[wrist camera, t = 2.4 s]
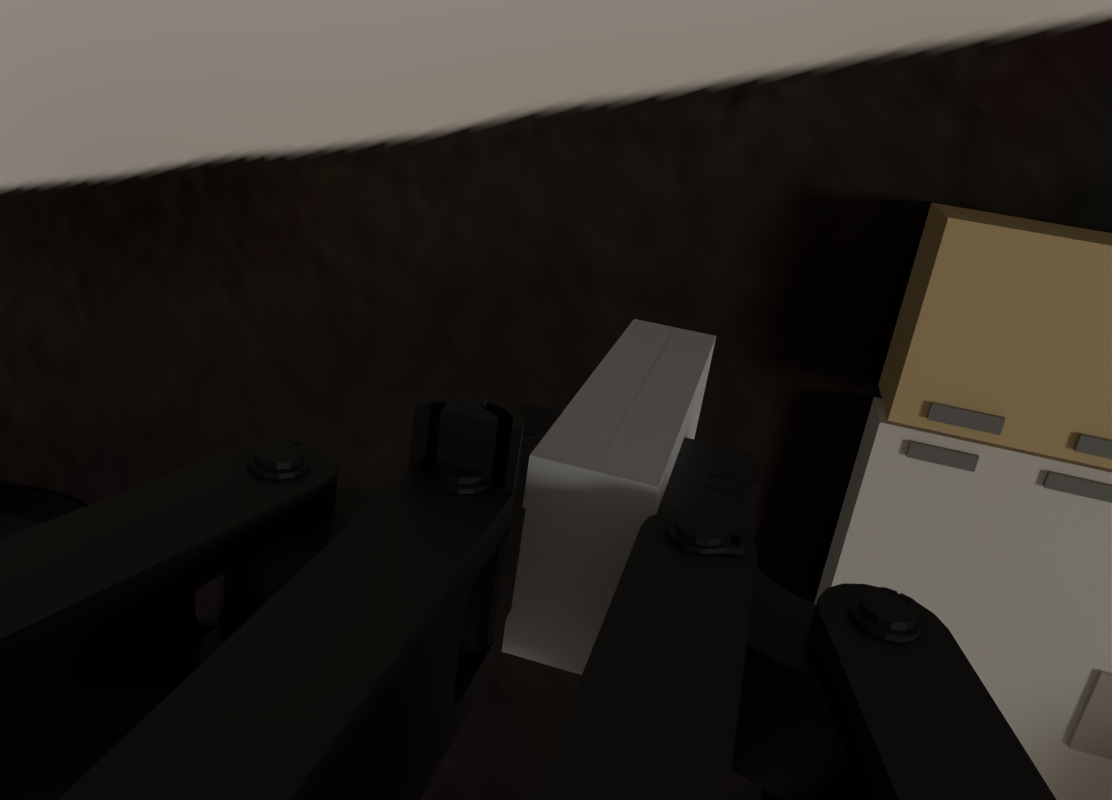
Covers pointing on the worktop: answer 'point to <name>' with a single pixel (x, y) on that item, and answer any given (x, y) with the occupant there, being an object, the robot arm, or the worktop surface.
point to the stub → (1006, 335)
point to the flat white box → (997, 578)
